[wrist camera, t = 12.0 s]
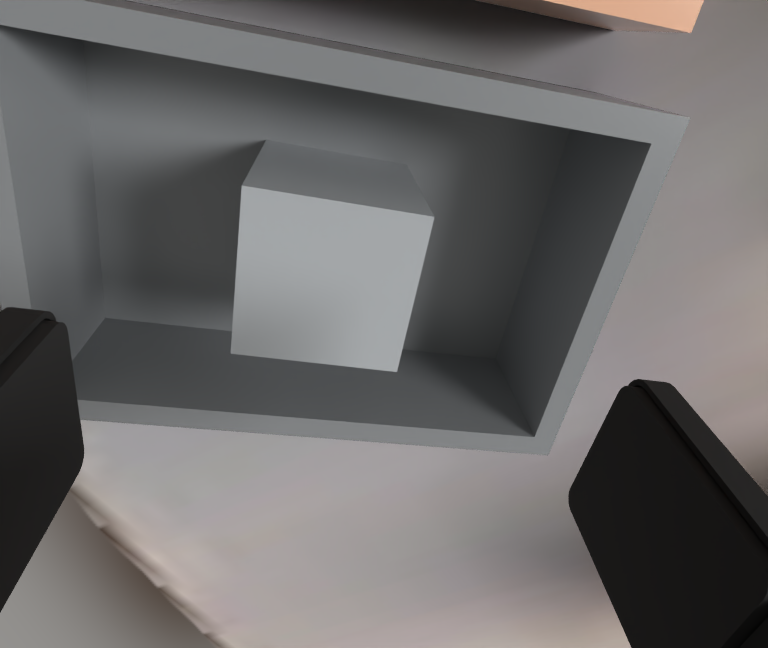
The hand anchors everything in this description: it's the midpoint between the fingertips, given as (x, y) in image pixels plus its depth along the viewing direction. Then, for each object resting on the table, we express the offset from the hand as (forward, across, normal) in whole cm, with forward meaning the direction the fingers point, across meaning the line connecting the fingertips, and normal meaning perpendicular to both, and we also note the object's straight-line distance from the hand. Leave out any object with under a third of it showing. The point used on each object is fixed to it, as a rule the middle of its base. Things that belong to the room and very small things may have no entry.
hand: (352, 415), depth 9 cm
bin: (+13, +1, +1) cm, 13 cm away
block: (+12, +1, +1) cm, 12 cm away
